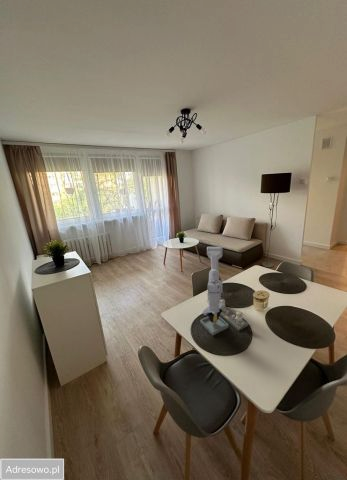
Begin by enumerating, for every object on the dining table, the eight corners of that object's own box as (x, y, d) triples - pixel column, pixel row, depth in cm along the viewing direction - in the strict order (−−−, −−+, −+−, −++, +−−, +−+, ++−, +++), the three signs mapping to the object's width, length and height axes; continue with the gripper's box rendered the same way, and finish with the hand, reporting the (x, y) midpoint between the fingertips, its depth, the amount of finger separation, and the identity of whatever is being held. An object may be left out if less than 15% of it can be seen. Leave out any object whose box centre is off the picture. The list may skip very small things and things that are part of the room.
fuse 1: (218, 308, 128) (218, 299, 126) (222, 306, 129) (222, 298, 127) (222, 311, 125) (222, 302, 123) (226, 309, 126) (226, 300, 124)
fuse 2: (234, 322, 115) (235, 312, 113) (239, 319, 116) (239, 310, 114) (239, 325, 112) (239, 315, 110) (243, 323, 113) (243, 313, 111)
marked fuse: (210, 321, 116) (209, 312, 113) (214, 319, 117) (214, 310, 115) (213, 325, 112) (213, 315, 110) (218, 323, 114) (218, 313, 112)
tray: (200, 323, 118) (200, 320, 117) (215, 316, 123) (215, 313, 122) (212, 336, 108) (212, 332, 107) (228, 327, 113) (228, 324, 112)
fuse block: (214, 310, 129) (214, 306, 128) (223, 306, 132) (223, 302, 131) (238, 331, 110) (238, 326, 109) (248, 325, 113) (248, 321, 112)
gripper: (207, 309, 104) (208, 329, 108) (228, 300, 110) (227, 319, 114) (200, 302, 110) (201, 321, 114) (219, 294, 116) (220, 313, 120)
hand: (214, 320), depth 114 cm, fingers closed on marked fuse, 3 cm apart
